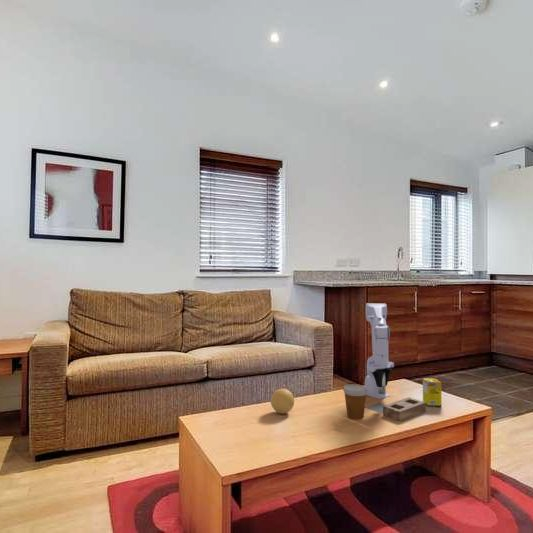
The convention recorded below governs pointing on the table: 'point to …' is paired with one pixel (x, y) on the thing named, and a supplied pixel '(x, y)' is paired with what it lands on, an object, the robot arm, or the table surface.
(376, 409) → the mat
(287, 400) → the stress ball
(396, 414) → the socket block
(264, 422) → the table surface
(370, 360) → the robot arm
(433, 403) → the supplement box
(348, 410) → the disposable coffee cup
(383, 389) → the peg
